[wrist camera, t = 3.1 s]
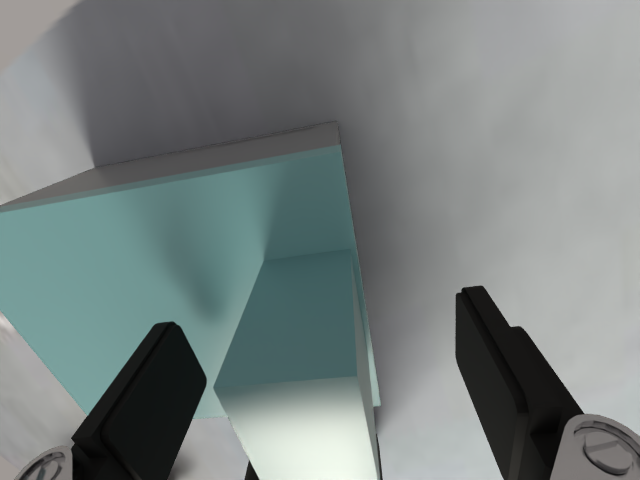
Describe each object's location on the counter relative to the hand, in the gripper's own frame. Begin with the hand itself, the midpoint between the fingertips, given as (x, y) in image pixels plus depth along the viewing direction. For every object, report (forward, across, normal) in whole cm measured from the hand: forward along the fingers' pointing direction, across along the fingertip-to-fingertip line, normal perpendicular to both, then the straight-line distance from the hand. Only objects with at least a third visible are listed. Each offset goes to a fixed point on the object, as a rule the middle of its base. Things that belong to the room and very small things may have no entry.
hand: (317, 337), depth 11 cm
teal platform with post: (+4, +6, 0) cm, 7 cm away
